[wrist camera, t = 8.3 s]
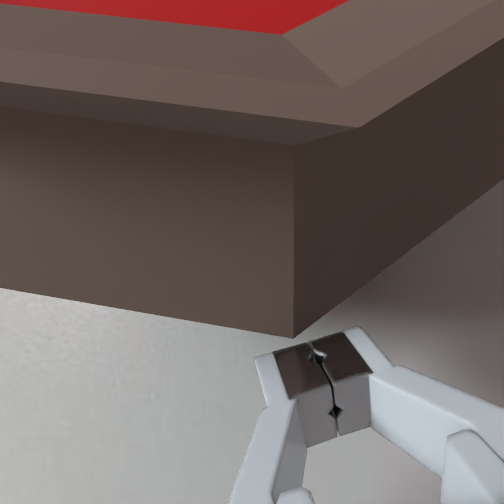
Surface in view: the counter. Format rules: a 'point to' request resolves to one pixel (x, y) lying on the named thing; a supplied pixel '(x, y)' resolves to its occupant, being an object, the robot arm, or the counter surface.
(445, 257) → the counter surface
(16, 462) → the counter surface
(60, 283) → the octagonal pot
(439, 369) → the counter surface
